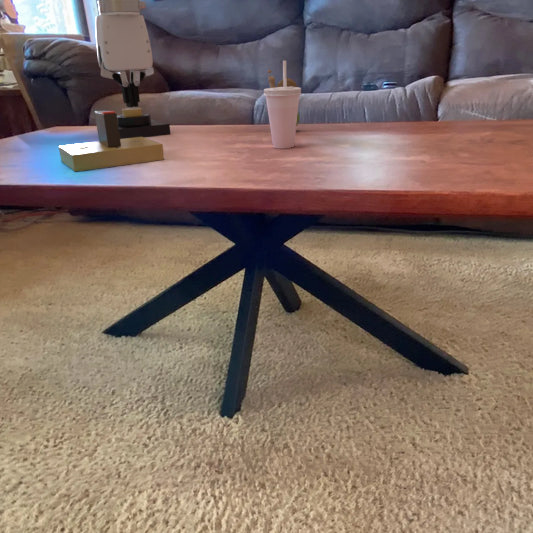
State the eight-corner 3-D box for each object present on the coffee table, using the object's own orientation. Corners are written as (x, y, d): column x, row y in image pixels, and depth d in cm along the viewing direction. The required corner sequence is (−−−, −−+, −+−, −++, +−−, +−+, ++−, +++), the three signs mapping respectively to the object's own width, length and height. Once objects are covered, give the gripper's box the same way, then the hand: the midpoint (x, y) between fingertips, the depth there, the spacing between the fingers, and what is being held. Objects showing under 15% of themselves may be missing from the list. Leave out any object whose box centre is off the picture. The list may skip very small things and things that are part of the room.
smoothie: (309, 146, 89) (309, 59, 83) (279, 151, 85) (277, 61, 80) (286, 142, 94) (285, 60, 88) (258, 146, 90) (254, 61, 85)
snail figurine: (274, 129, 110) (272, 69, 105) (302, 129, 107) (302, 68, 103) (265, 132, 105) (263, 70, 100) (294, 133, 103) (294, 70, 98)
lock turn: (99, 143, 83) (94, 109, 81) (111, 141, 84) (106, 108, 82) (108, 147, 79) (103, 112, 77) (121, 146, 80) (116, 111, 78)
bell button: (126, 119, 104) (125, 110, 104) (120, 117, 107) (119, 108, 107) (145, 117, 106) (144, 108, 105) (139, 115, 109) (138, 107, 109)
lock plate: (74, 171, 75) (71, 153, 74) (61, 161, 83) (58, 144, 82) (164, 159, 82) (162, 142, 81) (143, 150, 90) (141, 135, 89)
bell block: (113, 141, 101) (110, 120, 100) (100, 135, 109) (97, 116, 108) (170, 134, 107) (168, 114, 105) (154, 129, 115) (152, 111, 113)
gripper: (149, 9, 105) (160, 102, 112) (75, 9, 98) (91, 108, 105) (162, 6, 99) (172, 104, 106) (84, 6, 92) (101, 111, 99)
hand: (132, 106), depth 106 cm, fingers closed
